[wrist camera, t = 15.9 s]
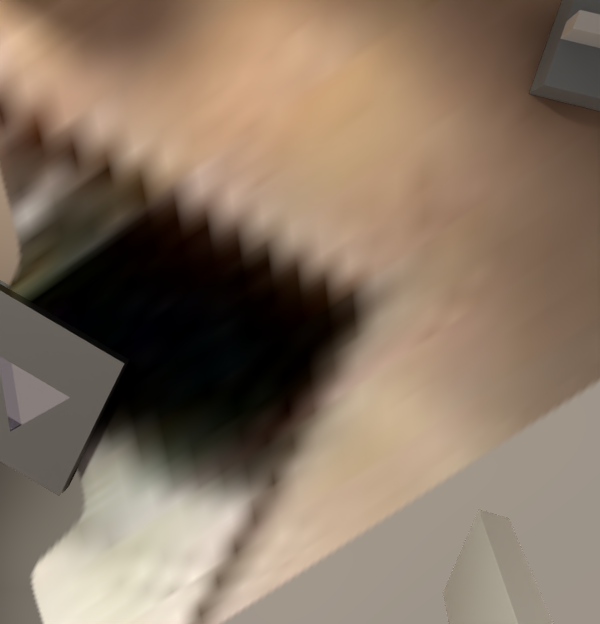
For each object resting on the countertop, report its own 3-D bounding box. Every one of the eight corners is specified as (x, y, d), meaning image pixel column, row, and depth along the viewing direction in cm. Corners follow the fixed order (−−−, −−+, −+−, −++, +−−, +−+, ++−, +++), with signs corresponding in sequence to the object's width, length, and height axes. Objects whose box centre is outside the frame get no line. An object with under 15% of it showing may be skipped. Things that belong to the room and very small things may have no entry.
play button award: (-73, 247, 43) (124, 363, 43) (-58, 245, 44) (132, 357, 44) (-119, 391, 47) (59, 496, 47) (-104, 385, 48) (68, 486, 49)
